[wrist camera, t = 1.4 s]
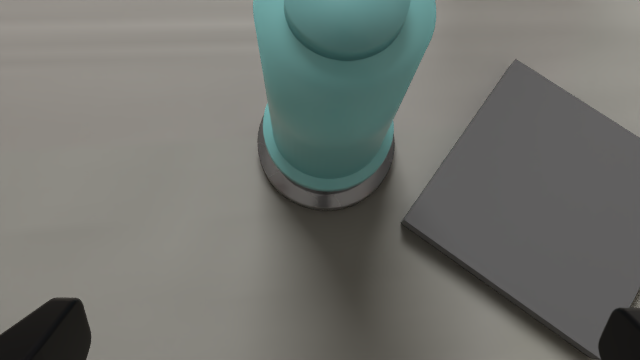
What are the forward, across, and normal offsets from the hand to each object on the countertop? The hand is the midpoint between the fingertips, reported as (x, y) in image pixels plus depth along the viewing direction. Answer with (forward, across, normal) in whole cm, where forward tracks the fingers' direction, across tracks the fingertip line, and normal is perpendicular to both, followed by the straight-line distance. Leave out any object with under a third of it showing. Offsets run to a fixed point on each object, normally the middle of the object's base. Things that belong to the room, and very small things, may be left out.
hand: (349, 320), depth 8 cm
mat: (+13, -11, +6) cm, 18 cm away
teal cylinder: (+14, 0, +3) cm, 14 cm away
